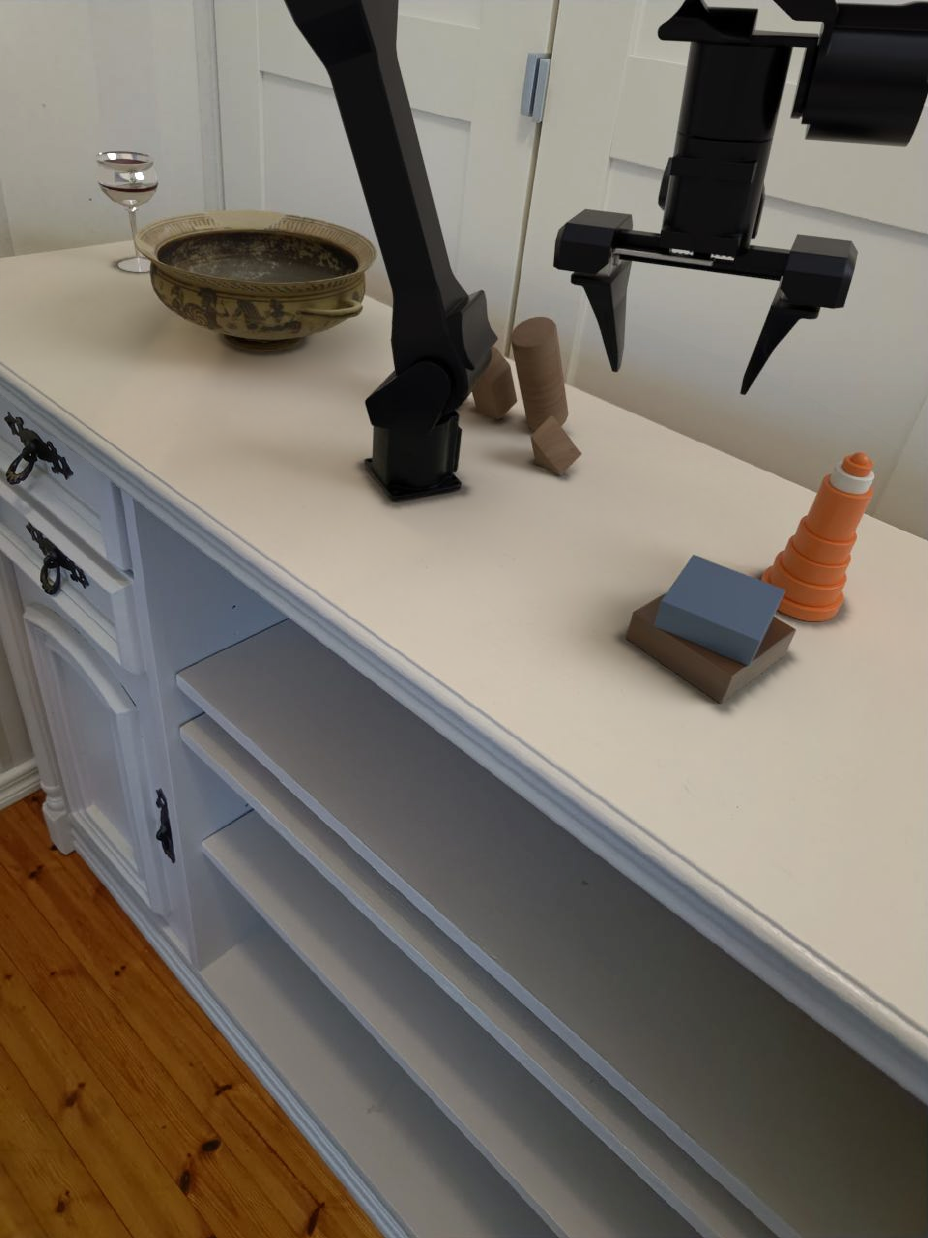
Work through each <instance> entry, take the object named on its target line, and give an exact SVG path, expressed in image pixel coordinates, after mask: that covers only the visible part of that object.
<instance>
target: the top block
mask: <svg viewBox="0 0 928 1238" xmlns="http://www.w3.org/2000/svg"><path fill="white" fill-rule="evenodd" d="M666 592H667V593H666ZM666 592H665V593H666V595H665V596H664V598H663V599H662V601H661V603H660V606H659V609H658V613H657V616H656V619H655V622H654V626H655V627H657V628H659V629H662V630H664V631H666V632H669V633H671V634H673V635H676V636H678V637H681V638H683V639H685V640H688V641H690V642H692V643H695V644H697V645H699V646H702V647H704V648H707V649H709V650H711V651H714V652H716V653H718V654H721V655H723V656H725V657H728V658H730V659H733V660H735V661H737V662H740V663H742V664H744V665H747V666H750V664H751V662H752V660H753V658H754V656H755V654H756V652H757V650H758V648H759V646H760V644H761V642H762V640H763V638H764V636H765V634H766V632H767V630H768V628H769V626H770V624H771V622H772V620H773V618H774V616H775V617H776V614H777V613H778V612H777V611H778V610H777V609H778V607H779V605H780V602H781V600H782V598H783V595H784V593H785V590H784V589H781V588H779V587H776V586H773V585H771V584H768V583H766V582H763V581H761V579H759V578H758V579H757V578H755V577H752V576H750V575H747V574H744V573H742V572H740V571H737V570H734V569H732V568H730V567H727V566H724V565H721V564H719V563H716V562H714V561H711V560H709V559H706V558H703V557H701V556H698V555H696V554H693V555H692V556H691V557H690V559H689V560H688V562H687V563H686V564H685V566H684V568H683V569H681V571H680V573H679V574H678V576H677V577H676V579H675V580H674V582H673V583H672V585H671V586H670V587H669V589H668V590H667V591H666Z"/></svg>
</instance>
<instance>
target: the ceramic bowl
mask: <svg viewBox="0 0 928 1238" xmlns="http://www.w3.org/2000/svg"><path fill="white" fill-rule="evenodd" d="M135 244H136V247H137V249H138V250H139V253H141V255H142V256H144V257H145V259H148V260H150V261H151V263H150V271H149V276H150V277H149V279H150V283H151V286H152V290H153V292H154V293H155V294H156V296H157V297H158V299H159V300H160V301H161V302H162V304H164V306H165V307H166V308H168V309H169V310H171V312H173V313H174V314H176V315H177V316H179V317H181V318H182V319H184V320H186V321H187V322H190V323H192V324H194V325H196V326H198V327H201V328H204V329H207V330H209V331H212V332H215V333H218V334H223V337H224V339H225V340H226V342H228V343H229V344H230V345H232V346H234V347H237V348H240V349H242V350H249V351H254V352H256V351H257V352H277V351H282V350H288V349H290V348H293V347H295V346H297V345H298V344H299V343H300V342H301V340H302V338H303V337H306V336H311V335H315V334H318V333H322V332H324V331H326V330H327V331H328V330H329V329H332V328H335V327H336V326H338V325H340V324H342V323H343V322H345V321H347V320H348V319H351V318H355V317H357V316H359V315H360V314H361V313H362V312H363V310H364V306H363V304H362V303H363V301H364V298H365V295H366V290H367V289H366V286H367V280H366V271H367V270H369V269H370V268H371V267H372V266H373V265H374V263H375V262H376V260H377V257H378V251H377V248H376V246H375V245H374V243H373V242H372V241H371V240H370V239H369V238H367V237H366V236H365V235H364V234H361V233H359V232H358V231H355V230H353V229H350V228H349V227H346V226H343V225H340V224H338V223H334V222H329V221H326V220H323V219H318V218H314V217H309V216H301V215H297V214H292V213H284V212H278V211H272V210H261V209H221V210H209V211H203V212H195V213H189V214H182V215H175V216H170V217H166V218H162V219H159V220H156V221H152V222H150V223H149V224H147V225H145V226H143V227H142V228H140V229H139V230H137V234H136V235H135Z"/></svg>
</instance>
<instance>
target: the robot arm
mask: <svg viewBox="0 0 928 1238" xmlns="http://www.w3.org/2000/svg"><path fill="white" fill-rule="evenodd" d="M283 1H284V4H285V6H286V8H287V11H288V13H289V15H290V17H291V19H292V21H293V23H294V25H295V27H296V29H298V31H299V33H300V34H301V35H302V37H303V38H304V39H305V41H306V42H307V45H309V47H310V48H311V49H312V51H313V53H314V54H315V55H316V57H317V58H318V59H319V61H320V63H321V64H322V65H323V68H325V70H326V73H327V75H328V78H329V80H330V83H331V86H332V91H333V93H334V97H335V100H336V104H337V107H338V111H339V114H340V117H341V121H342V124H343V129H344V132H345V134H346V138H347V141H348V145H349V149H350V152H351V155H352V158H353V162H354V165H355V169H356V172H357V175H358V179H359V183H360V186H361V188H362V189H361V190H362V193H363V196H364V199H365V203H366V206H367V209H368V213H369V217H370V220H371V223H372V227H373V231H374V234H375V236H376V240H377V244H378V247H379V250H380V254H381V259H382V261H383V264H384V268H385V271H386V274H387V275H386V276H387V278H388V281H389V284H390V289H391V293H392V314H391V333H390V334H391V335H390V336H391V337H390V346H391V353H392V359H393V367H394V370H393V371H392V372H391V373H390V374H389V375H388V376H387V377H386V378H385V379H384V380H383V381H382V382H381V383H380V384H379V385H378V386H377V387H376V388H375V389H374V390H373V392H372V393H370V394H369V396H368V397H366V399H365V400H364V405H365V408H366V411H367V415H368V419H369V421H370V424H371V425H372V426H373V430H372V434H373V435H372V457H367V458H365V459H364V460H363V465H364V467H365V469H366V470H367V471H368V472H369V474H370V475H371V476H372V477H373V479H374V480H375V481H376V482H377V484H378V485H379V486H380V488H381V489H382V490H383V491H384V493H385V494H386V495H387V497H388V498H389V499H391V501H394V502H399V501H404V500H410V499H416V498H421V497H426V496H427V497H428V496H431V495H437V494H443V493H449V492H454V491H459V490H461V489H462V485H463V483H462V481H461V480H460V478H458V476H456V475H455V473H457V472H458V470H459V465H460V457H461V447H462V439H463V428H462V427H461V426H460V425H459V424H460V413H459V412H458V411H457V410H458V409H459V408H460V407H461V406H463V404H464V403H465V401H466V400H467V399H468V397H469V396H470V395H471V394H472V391H473V389H474V388H475V387H476V385H477V384H478V383H479V381H480V380H481V379H482V377H483V376H484V374H485V373H486V371H487V369H488V368H489V365H490V363H491V358H492V346H494V345H495V344H496V342H497V341H498V339H499V338H498V336H497V335H496V333H495V331H494V330H493V328H492V326H491V322H490V320H489V314H488V301H487V296H486V291H485V290H484V289H479V290H477V291H475V292H473V293H470V294H468V293H467V291H466V290H465V289H464V287H463V286H462V284H461V283H460V281H458V279H457V278H456V276H455V274H454V272H453V270H452V266H451V263H450V259H449V255H448V251H447V247H446V243H445V240H444V235H443V231H442V227H441V223H440V220H439V216H438V211H437V207H436V204H435V199H434V197H433V196H434V195H433V192H432V187H431V184H430V179H429V176H428V173H427V168H426V164H425V160H424V156H423V151H422V149H421V145H420V141H419V136H418V132H417V129H416V128H417V127H416V124H415V121H414V117H413V113H412V108H411V105H410V101H409V97H408V93H407V90H406V85H405V81H404V77H403V73H402V69H401V66H400V62H399V57H398V49H397V39H398V23H399V22H398V21H399V0H283ZM772 1H773V3H775V4H776V5H777V7H779V8H780V9H781V10H782V11H783V12H784V13H785V14H786V15H787V16H788V17H789V18H790V19H791V20H792V21H795V22H806V23H807V22H809V23H810V22H811V23H820V29H819V32H818V33H815V32H814V33H812V32H791V31H790V32H789V31H774V30H763V29H761V30H760V29H756V27H757V21H758V15H759V8H756V7H754V8H753V7H731V6H710V5H708V4H707V2H706V1H705V0H684V1H683V2H682V4H681V5H680V6H679V8H678V9H677V11H675V12H674V14H673V15H672V16H671V17H670V18H668V19H667V20H666V21H664V22H663V23H662V24H661V25H659V27H658V28H657V37H658V39H659V40H660V41H665V42H682V43H683V42H684V43H690V45H689V51H688V57H687V58H688V59H687V65H686V72H685V77H684V78H685V79H684V83H683V89H682V97H681V104H680V110H679V115H678V122H677V127H676V128H677V129H676V134H675V140H674V147H673V153H672V157H671V156H669V157H668V159H667V162H666V166H665V169H664V172H663V174H662V178H661V183H660V188H659V193H658V198H657V205H658V206H659V207H660V209H661V210H662V211H664V212H663V218H662V225H661V229H660V233H659V232H651V231H644V230H635V229H634V221H633V220H634V219H633V214H632V213H623V212H614V211H607V210H599V209H591V208H590V209H589V208H584V209H582V210H581V211H580V212H578V213H577V214H576V215H575V216H573V217H572V218H570V219H569V220H568V221H566V222H565V223H564V224H563V225H562V226H561V227H560V228H558V230H557V233H556V237H555V240H554V248H553V249H554V250H553V260H552V261H553V262H552V267H553V268H555V269H556V270H558V271H565V272H566V271H567V272H572V273H571V274H570V283H571V284H572V285H575V286H578V287H579V286H580V287H581V288H582V289H583V291H584V293H585V295H586V298H587V300H588V302H589V305H590V307H591V310H592V311H593V314H594V316H595V319H596V322H597V325H598V327H599V331H600V335H601V338H602V342H603V345H604V349H605V352H606V355H607V359H608V363H609V366H610V369H611V372H612V373H618V372H619V371H620V370H621V366H622V363H623V362H622V361H623V357H624V350H625V338H626V337H625V336H626V319H627V318H626V315H627V296H628V286H629V281H630V277H631V271H632V265H633V262H635V263H636V262H637V263H642V264H650V265H658V266H665V267H672V268H673V267H674V268H679V269H687V270H694V271H700V272H710V273H716V274H723V275H729V276H730V275H732V276H738V277H745V278H754V279H761V280H766V281H767V280H768V281H774V282H775V281H776V282H779V285H778V288H777V290H776V292H775V294H774V297H773V300H772V302H771V304H770V307H769V310H768V311H767V315H766V318H765V320H764V322H763V325H762V328H761V330H760V333H759V335H758V338H757V341H756V343H755V346H754V348H753V351H752V353H751V357H750V358H749V361H748V364H747V365H746V366H747V367H746V369H745V371H744V374H743V377H742V382H741V387H740V391H739V395H742V396H746V395H747V393H748V392H749V390H750V389H751V387H752V386H753V384H754V383H755V381H756V379H757V378H758V377H759V375H760V373H761V371H762V370H763V368H764V367H765V365H766V363H767V362H768V361H769V358H770V357H771V356H772V354H773V352H774V351H775V350H776V348H777V347H778V346H779V345H780V343H781V342H782V341H783V340H784V339H785V337H787V335H788V334H789V333H790V332H791V330H792V329H793V328H794V327H795V325H796V324H797V323H798V322H799V321H800V320H802V319H803V320H816V319H818V318H819V314H820V311H821V308H824V309H832V310H836V309H843V308H844V307H845V304H846V300H847V298H848V293H849V291H850V287H851V283H852V280H853V277H854V273H855V269H856V265H857V260H858V255H859V251H858V249H857V247H856V246H855V244H854V242H853V241H852V240H848V239H840V238H831V237H824V236H817V235H816V236H815V235H807V234H796V237H795V239H794V241H793V243H792V246H791V248H790V249H786V248H778V247H771V246H763V245H756V244H751V243H752V240H755V239H756V238H757V236H758V232H759V228H760V223H761V218H762V214H763V209H764V205H765V200H766V191H765V190H766V187H765V178H766V174H767V170H768V164H769V159H770V155H771V150H772V146H773V141H774V136H775V132H776V127H777V123H778V118H779V114H780V109H781V105H782V102H783V101H782V100H783V95H784V91H785V87H786V82H787V78H788V72H789V70H790V69H789V68H790V63H791V59H792V54H793V50H794V48H801V49H804V51H803V57H802V61H801V65H800V68H799V74H798V78H797V82H796V86H795V92H794V95H793V101H792V106H791V111H790V117H789V118H790V119H792V120H800V118H801V121H800V125H806V129H805V135H804V140H805V141H806V140H807V141H817V142H818V141H819V142H833V143H847V144H859V145H875V146H886V147H901V148H905V147H907V146H908V145H909V143H910V142H911V140H912V138H913V136H914V134H915V131H916V129H917V127H918V124H919V121H920V119H921V116H922V113H923V111H924V107H925V105H926V101H927V99H928V0H914V1H908V2H905V3H898V4H889V3H887V4H886V3H864V2H863V3H862V2H841V1H840V2H837V0H772ZM673 250H678V251H687V252H689V253H688V254H687V253H684V252H682V253H680V252H678V251H675V252H674V251H673ZM716 256H719V257H720V258H718V257H716ZM721 257H722V258H721ZM723 257H725V258H723ZM726 258H727V259H726ZM728 258H731V259H728Z"/></svg>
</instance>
